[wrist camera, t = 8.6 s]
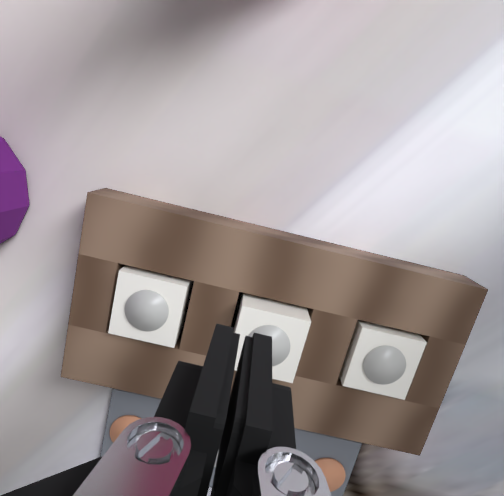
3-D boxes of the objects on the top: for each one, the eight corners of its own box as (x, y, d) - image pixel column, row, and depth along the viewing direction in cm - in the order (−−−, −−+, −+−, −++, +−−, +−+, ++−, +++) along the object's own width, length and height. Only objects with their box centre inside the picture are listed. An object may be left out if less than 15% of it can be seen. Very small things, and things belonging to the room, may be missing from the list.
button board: (463, 275, 28) (488, 289, 25) (404, 427, 31) (419, 455, 28) (105, 188, 27) (87, 192, 24) (79, 355, 30) (60, 376, 27)
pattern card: (360, 440, 31) (362, 445, 31) (335, 508, 33) (336, 515, 32) (114, 386, 30) (111, 390, 30) (101, 459, 32) (98, 465, 31)
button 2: (409, 323, 28) (427, 343, 25) (390, 375, 30) (405, 401, 26) (351, 309, 28) (363, 328, 25) (334, 362, 29) (343, 387, 26)
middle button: (305, 303, 27) (311, 322, 24) (288, 359, 28) (292, 384, 25) (243, 289, 27) (242, 306, 24) (229, 345, 28) (225, 369, 25)
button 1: (194, 272, 28) (187, 287, 25) (182, 328, 29) (173, 349, 26) (133, 258, 27) (118, 271, 24) (123, 314, 28) (107, 334, 25)
